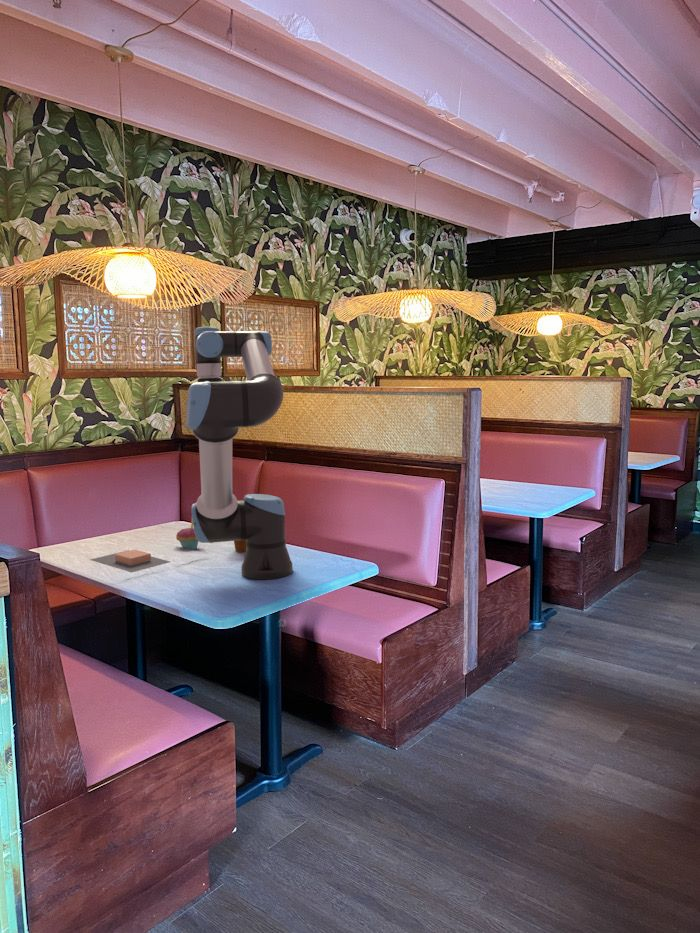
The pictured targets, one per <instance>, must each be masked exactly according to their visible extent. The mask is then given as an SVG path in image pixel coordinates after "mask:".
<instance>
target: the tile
mask: <svg viewBox="0 0 700 933" xmlns="http://www.w3.org/2000/svg"><path fill="white" fill-rule="evenodd" d="M125 551H126V552H124V551H121V552H122V553H119V552H117V554H115V553H114V554H115V561H116V562H118V563H122V564H125V565H129V566H135V565H139V564H143V563H146V562H150V561H151V557H152V554H151V553H149V552H147V551H146V552H145V551H142V550H138V549H131V550H129V551H128V550H125Z"/></svg>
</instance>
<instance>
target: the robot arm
mask: <svg viewBox="0 0 700 933" xmlns="http://www.w3.org/2000/svg"><path fill="white" fill-rule="evenodd" d="M194 341H195V342H194V343H195V357H196V377H198V378H197V382H193V383H192V384H190V386H189V387H188V390H187V391H188V392H187V396H186V397H187V399H186V414H185V415H186V416H185V420H186V428H187V429H188V430H191V431H192V434H193V436H194V437H195V438H196V439H198V448H199V449H198V452H199V470H200V471H199V472H200V489H201V490H200V491H201V493H200V494H199V496H198V497H197V500H196V502H195V503H192V505H191V510H190V512H191V522H192V521H193V528H194V532H195V536H196V539H197V540H198V541H199V542H198V543H202V544H203V543H204V544H207V543H208V544H209V543H210V544H214V543H222V542H234V541H237V540H246V552H244V558H243V562H242V564H241V576H243V577H244V578H248V579H252V580H272V579H273V580H274V579H280V578H283V577H287V576H289V575H291V574H292V573H293V562H292V560H291V557H290V554H289V551H288V549H287V543H286V540H287V539H286V520H285V518H286V517H285V515H286V510H285V503H284V501H283V499H282V498H281V497H279V496H275V495H271V494H263V493H251V494H250V493H248V494H245V495H244V497H243V500H238V499H237V497H236V495H235V494H233V439H234V438H235V437H236V436H237V435H238V432H239V429H240V428H252V427H253V428H254V427H258V426H260V425H263V424H265V423H266V422H268V421H270V419H272V418H273V417H274V416H275V415H276V414H277V413H278V411H279V409H280V408H281V406H282V403H283V401H284V388H283V385H282V383H281V380H280V379H279V378H278V377H277V376H276V375H275V372H274V369H273V366H272V362H271V358H270V356H271V355H272V351H273V349H272V348H273V343H272V342H273V340H272V334H271V333H270V332H269V331H266V330H265V331H261V330H252V331H251V330H249V331H248V330H247V331H246V330H245V331H220V329H219V327H216V326H200V327H196V328H195V330H194ZM221 358H241V359H242V362H243V369H244V373H245V376H246V380H242V381H241V380H237V381H236V380H234V381H223V379H222V378H221V376H222V359H221Z"/></svg>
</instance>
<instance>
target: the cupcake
mask: <svg viewBox="0 0 700 933" xmlns="http://www.w3.org/2000/svg"><path fill="white" fill-rule="evenodd" d="M175 537H176V538H175V539H176V540H177V541H179V544H180V545H181V548H183V549H186V550H191V551H194V550H196V549H197V548H198V544H199V543H200V542H199V541H198V540H197V539H196V536H195V532H194V527H193V521H192V520H191V523H190V527H188V528H181V529H180V530H179V531H177V533H176V535H175Z"/></svg>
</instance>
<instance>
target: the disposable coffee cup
mask: <svg viewBox="0 0 700 933" xmlns="http://www.w3.org/2000/svg"><path fill="white" fill-rule="evenodd" d="M233 544H234V549H235V551H236V552H238V553H245V552H246V540H237V541H233Z"/></svg>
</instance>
